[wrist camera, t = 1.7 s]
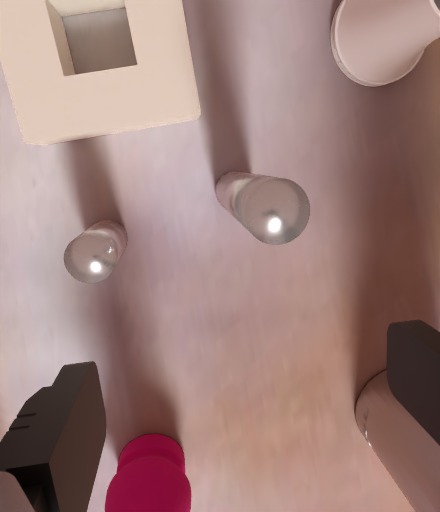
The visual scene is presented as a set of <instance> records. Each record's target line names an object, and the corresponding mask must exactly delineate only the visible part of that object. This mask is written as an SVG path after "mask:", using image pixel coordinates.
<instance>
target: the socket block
mask: <svg viewBox="0 0 440 512" xmlns="http://www.w3.org/2000/svg"><path fill="white" fill-rule="evenodd" d="M124 7H126V12H127V17H128V21H129V26H130V31H131V36H132V41H133V46H134V51H135V56H136V61H137V65H134V66H127V67H121V68H115V69H108V70H102V71H95V72H89V73H83V74H76V75H75V70H74V66H73V62H72V58H71V54H70V50H69V46H68V42H67V38H66V33H65V29H64V25H63V21H62V17H63V16H70V15H77V14H83V13H90V12H97V11H104V10H111V9H118V8H124ZM0 61H1V65H2V68H3V72H4V75H5V79H6V82H7V86H8V89H9V93H10V96H11V100H12V103H13V107H14V110H15V114H16V117H17V121H18V124H19V128H20V131H21V135H22V138H23V142H24V143H29V144H37V145H49V144H55V143H61V142H67V141H73V140H78V139H84V138H90V137H96V136H102V135H108V134H114V133H120V132H126V131H132V130H138V129H144V128H150V127H156V126H162V125H168V124H174V123H180V122H186V121H192V120H198V118H199V116H200V114H201V110H200V104H199V98H198V92H197V86H196V81H195V75H194V69H193V63H192V57H191V51H190V45H189V40H188V34H187V28H186V22H185V16H184V10H183V5H182V0H0Z"/></svg>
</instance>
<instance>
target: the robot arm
mask: <svg viewBox="0 0 440 512" xmlns="http://www.w3.org/2000/svg"><path fill="white" fill-rule="evenodd" d="M356 421H357V425H358V427H359V429H360V431H361V433H362V434H363V436H364V437H365V438H366V440H367V442H368V444H369V445H370V447H371V448H372V449H373V450H374V452H375V453H376V454H377V456H378V457H379V459H380V461H381V462H382V463H383V465H384V466H385V468H386V469H387V471H388V472H389V474H390V475H391V476H392V478H393V479H394V481H395V482H396V484H397V485H398V487H399V488H400V490H401V491H402V492H403V494H404V495H405V497H406V498H407V500H408V501H409V503H410V504H411V505H412V507H413V508H414V510H415V511H416V512H440V332H438V331H437V330H435V329H434V328H432V327H431V326H429V325H428V324H426V323H425V322H423V321H421V320H412V321H404V322H397V323H392V324H390V325H389V327H388V332H387V370H385V371H383V372H381V373H380V374H378V375H377V376H375V377H374V378H373V379H372V380H371V381H370V382H369V383H368V384H367V385H366V386H365V388H364V389H363V390H362V392H361V394H360V396H359V398H358V401H357V405H356ZM105 437H106V414H105V408H104V402H103V397H102V391H101V386H100V380H99V375H98V370H97V366H96V364H95V362H94V361H92V362H84V363H76V364H68V365H64V366H63V367H62V368H61V370H60V372H59V374H58V376H57V377H56V379H55V381H54V383H53V385H52V386H50V387H42V388H41V389H40V390H39V391H38V392H36V393H35V394H34V395H33V396H32V397H30V398H29V399H28V400H27V401H26V402H25V404H24V405H23V407H22V408H21V410H20V412H19V413H18V415H17V419H15V420H14V421H13V423H12V424H11V426H10V428H9V431H8V432H6V434H5V436H4V437H3V439H2V440H1V442H0V512H87V508H88V504H89V501H90V497H91V493H92V489H93V485H94V481H95V477H96V473H97V469H98V465H99V462H100V458H101V454H102V450H103V446H104V442H105Z"/></svg>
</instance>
